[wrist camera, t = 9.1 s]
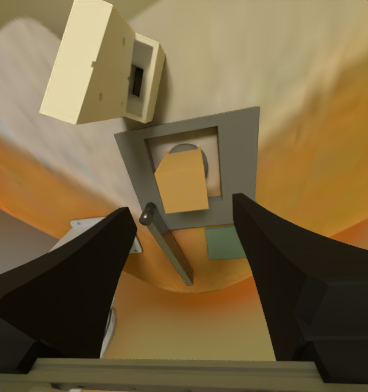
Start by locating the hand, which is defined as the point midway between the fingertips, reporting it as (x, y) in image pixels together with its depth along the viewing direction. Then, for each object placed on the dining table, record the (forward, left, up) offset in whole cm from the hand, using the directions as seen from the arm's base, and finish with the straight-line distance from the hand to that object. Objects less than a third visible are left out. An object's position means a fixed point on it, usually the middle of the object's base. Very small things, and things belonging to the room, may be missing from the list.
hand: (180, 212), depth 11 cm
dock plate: (+1, -2, -10) cm, 10 cm away
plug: (0, 0, -10) cm, 10 cm away
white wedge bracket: (-3, +9, -10) cm, 14 cm away
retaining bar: (-4, -11, -8) cm, 15 cm away
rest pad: (+5, -14, -10) cm, 18 cm away
